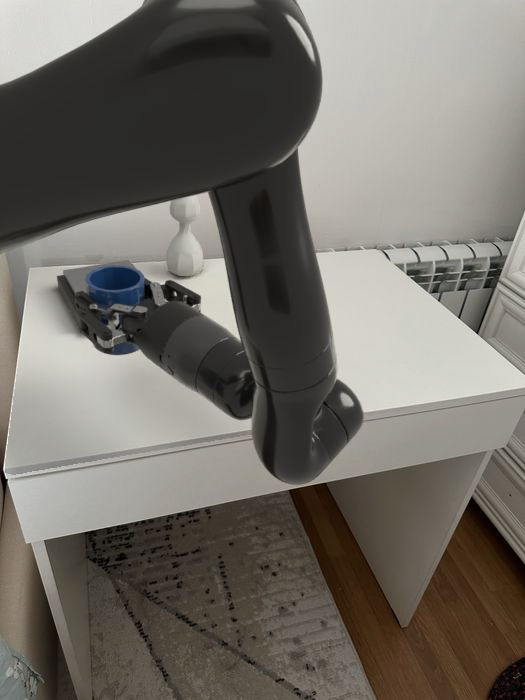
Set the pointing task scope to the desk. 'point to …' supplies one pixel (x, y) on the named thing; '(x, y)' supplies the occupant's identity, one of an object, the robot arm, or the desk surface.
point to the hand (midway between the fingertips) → (106, 289)
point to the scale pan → (79, 274)
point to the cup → (116, 293)
